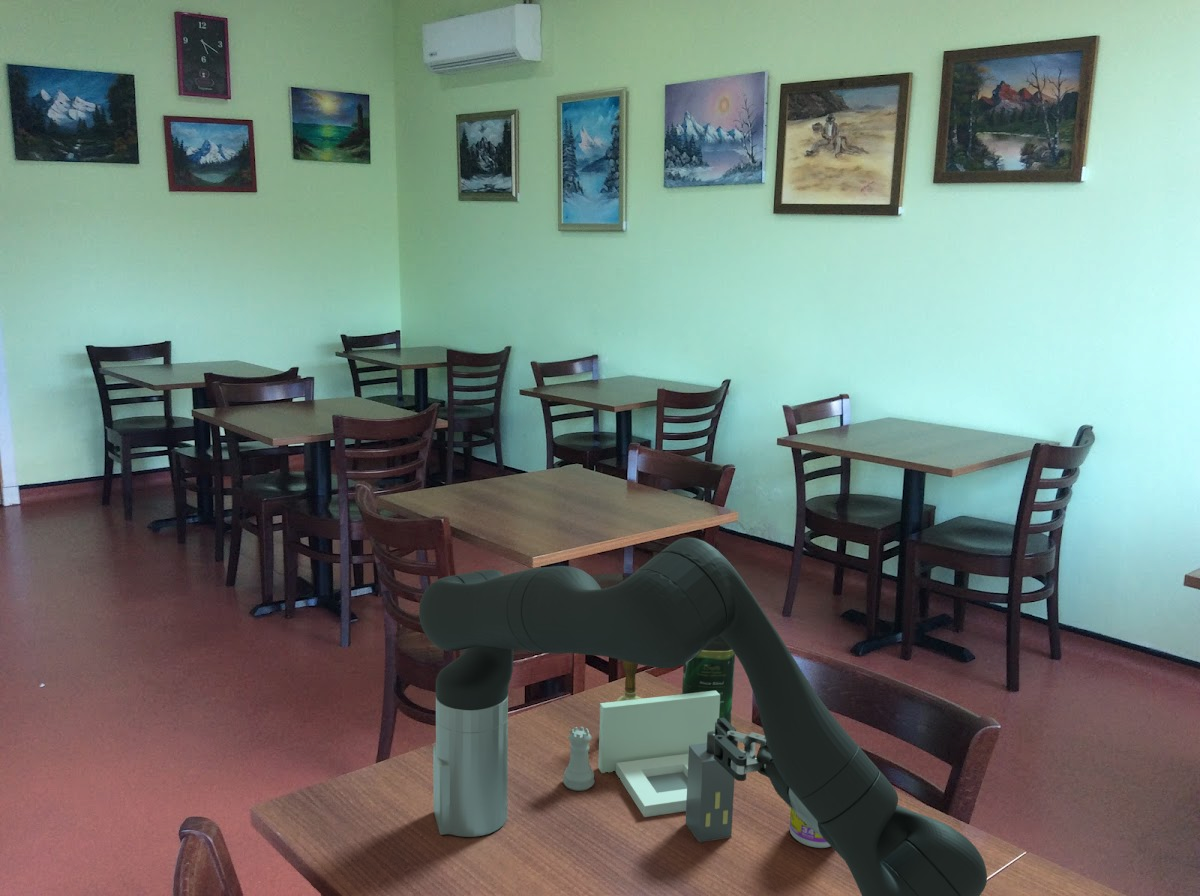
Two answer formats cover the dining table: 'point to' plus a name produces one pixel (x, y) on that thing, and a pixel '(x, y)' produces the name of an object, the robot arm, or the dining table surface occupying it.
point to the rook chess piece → (579, 762)
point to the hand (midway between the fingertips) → (752, 721)
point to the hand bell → (629, 682)
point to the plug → (708, 794)
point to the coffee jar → (712, 674)
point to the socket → (655, 745)
